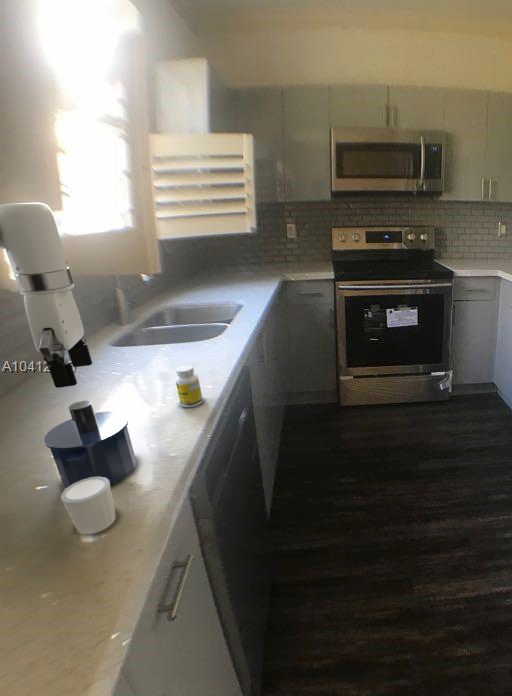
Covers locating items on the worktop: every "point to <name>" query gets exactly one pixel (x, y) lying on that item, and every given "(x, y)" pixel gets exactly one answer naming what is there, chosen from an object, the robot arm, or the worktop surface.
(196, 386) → the supplement bottle
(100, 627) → the worktop surface
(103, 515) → the white cup
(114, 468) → the pot
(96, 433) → the pot lid
